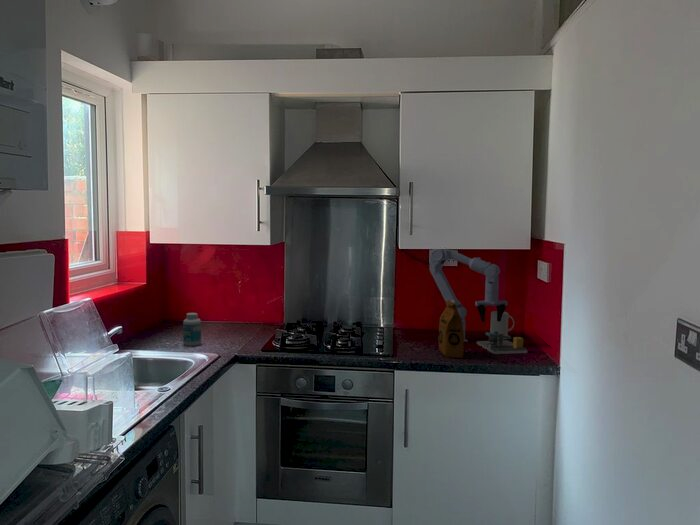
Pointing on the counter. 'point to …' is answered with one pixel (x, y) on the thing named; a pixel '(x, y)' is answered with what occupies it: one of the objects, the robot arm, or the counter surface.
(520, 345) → the slider knob
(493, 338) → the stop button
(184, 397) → the counter surface
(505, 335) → the teal tile with stripe
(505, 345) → the panel
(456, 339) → the coffee package
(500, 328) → the mug
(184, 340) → the pill bottle
